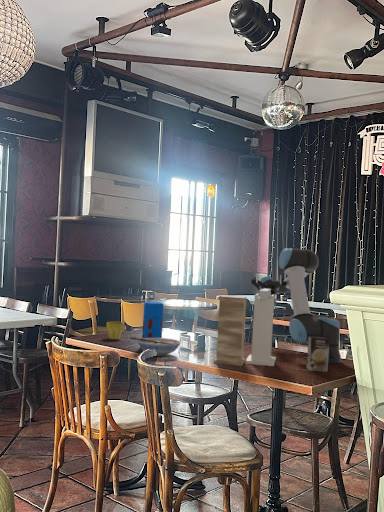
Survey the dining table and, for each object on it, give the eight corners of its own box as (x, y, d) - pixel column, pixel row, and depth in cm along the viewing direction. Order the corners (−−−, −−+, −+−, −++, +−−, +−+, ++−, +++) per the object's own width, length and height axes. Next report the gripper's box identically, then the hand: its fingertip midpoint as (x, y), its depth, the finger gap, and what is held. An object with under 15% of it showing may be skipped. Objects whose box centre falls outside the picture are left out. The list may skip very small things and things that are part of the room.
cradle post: (249, 357, 303) (253, 292, 303) (275, 359, 300) (279, 294, 301) (245, 363, 284) (249, 294, 284) (273, 366, 281) (277, 296, 281)
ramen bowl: (190, 355, 298) (190, 340, 298) (166, 361, 278) (167, 344, 278) (151, 349, 311) (151, 334, 311) (125, 354, 291) (126, 338, 291)
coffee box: (309, 371, 274) (311, 337, 274) (306, 368, 280) (307, 335, 280) (328, 371, 274) (329, 338, 274) (324, 369, 281) (326, 336, 281)
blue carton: (158, 349, 311) (160, 304, 311) (139, 348, 313) (141, 302, 313) (163, 346, 321) (165, 302, 322) (144, 345, 324) (147, 301, 324)
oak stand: (218, 358, 293) (221, 295, 294) (244, 361, 291) (248, 296, 291) (213, 363, 280) (217, 296, 280) (242, 365, 277) (245, 298, 277)
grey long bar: (263, 295, 309) (263, 288, 309) (270, 296, 309) (271, 288, 309) (259, 298, 282) (259, 290, 282) (267, 299, 281) (267, 291, 281)
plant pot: (102, 338, 339) (103, 322, 339) (110, 336, 349) (111, 321, 349) (118, 340, 336) (119, 324, 336) (125, 338, 346) (126, 322, 346)
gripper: (290, 300, 336) (290, 283, 318) (248, 297, 341) (246, 280, 323) (290, 288, 340) (291, 271, 322) (249, 286, 345) (247, 268, 327)
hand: (268, 275), depth 322 cm, fingers open, 13 cm apart
